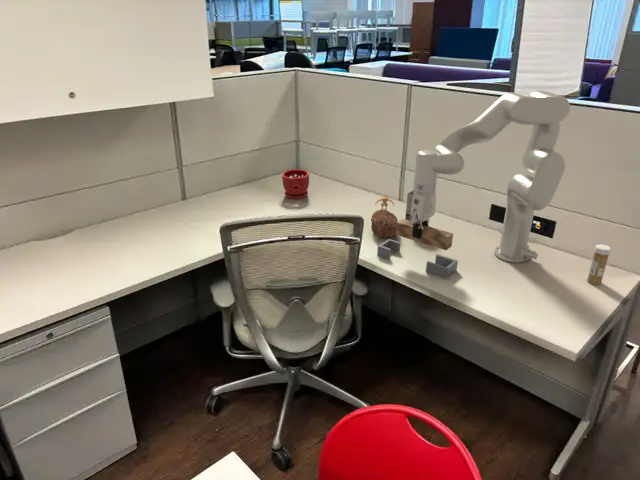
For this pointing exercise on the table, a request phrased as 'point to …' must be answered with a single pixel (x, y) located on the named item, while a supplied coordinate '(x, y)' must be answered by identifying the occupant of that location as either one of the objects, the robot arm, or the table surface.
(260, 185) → the table surface
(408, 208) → the coffee box
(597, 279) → the sprinkles bottle
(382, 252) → the end cap
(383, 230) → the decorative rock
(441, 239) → the slat
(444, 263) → the end cap
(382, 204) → the figurine
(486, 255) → the table surface
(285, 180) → the plant pot
